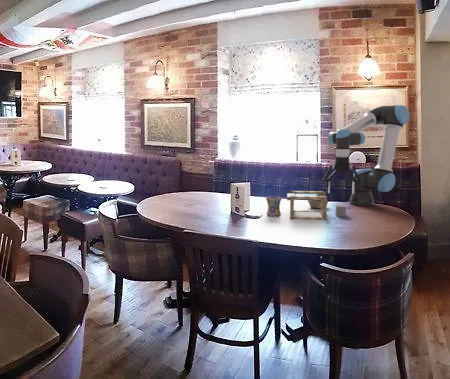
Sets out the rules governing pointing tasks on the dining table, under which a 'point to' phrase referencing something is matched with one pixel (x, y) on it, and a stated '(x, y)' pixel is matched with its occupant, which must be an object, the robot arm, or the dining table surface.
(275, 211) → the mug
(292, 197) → the frame
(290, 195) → the trapdoor
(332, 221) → the dining table surface
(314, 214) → the mat
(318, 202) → the rock
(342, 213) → the stone
